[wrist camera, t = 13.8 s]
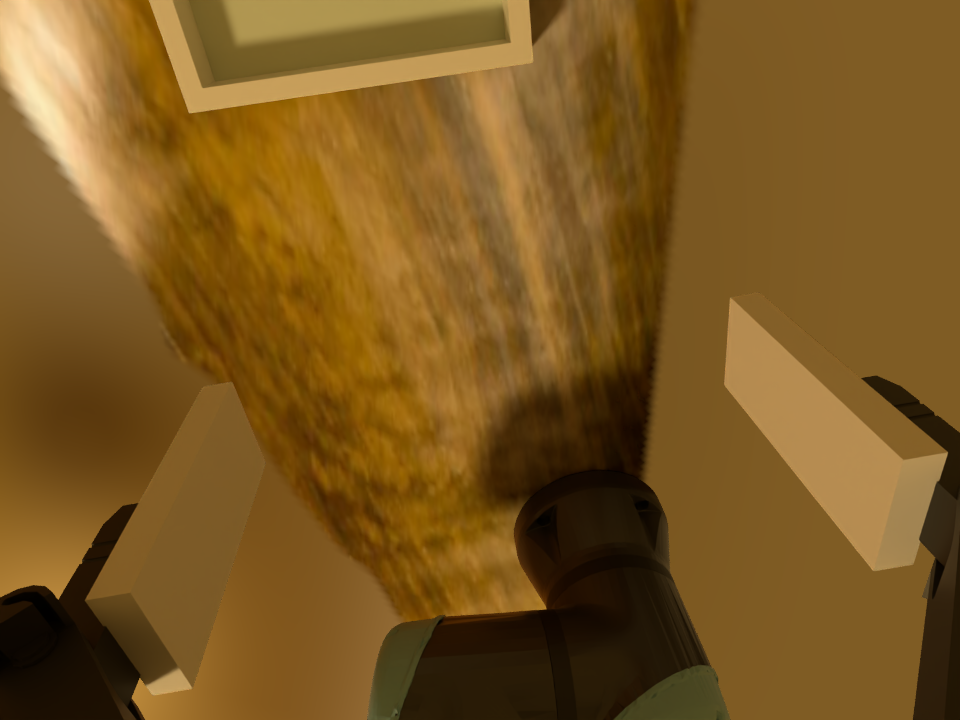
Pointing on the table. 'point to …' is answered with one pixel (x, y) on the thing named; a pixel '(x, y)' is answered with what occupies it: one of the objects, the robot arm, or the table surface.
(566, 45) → the table surface
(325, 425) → the table surface
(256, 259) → the table surface
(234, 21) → the rectangular tray
